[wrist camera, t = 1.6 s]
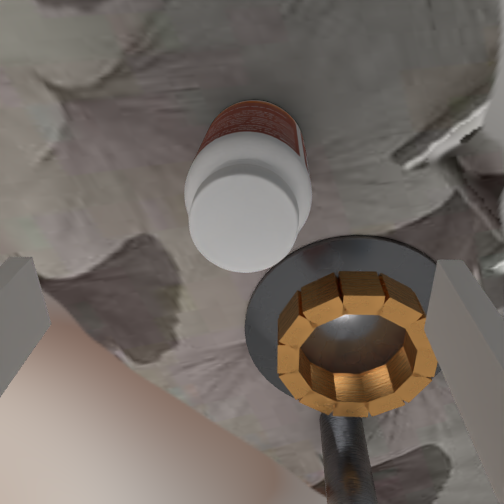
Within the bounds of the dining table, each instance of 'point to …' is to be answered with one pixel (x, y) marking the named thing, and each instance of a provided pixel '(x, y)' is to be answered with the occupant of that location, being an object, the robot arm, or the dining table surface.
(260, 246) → the pill bottle
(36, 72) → the dining table surface
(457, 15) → the dining table surface
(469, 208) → the dining table surface
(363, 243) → the round base with peg
